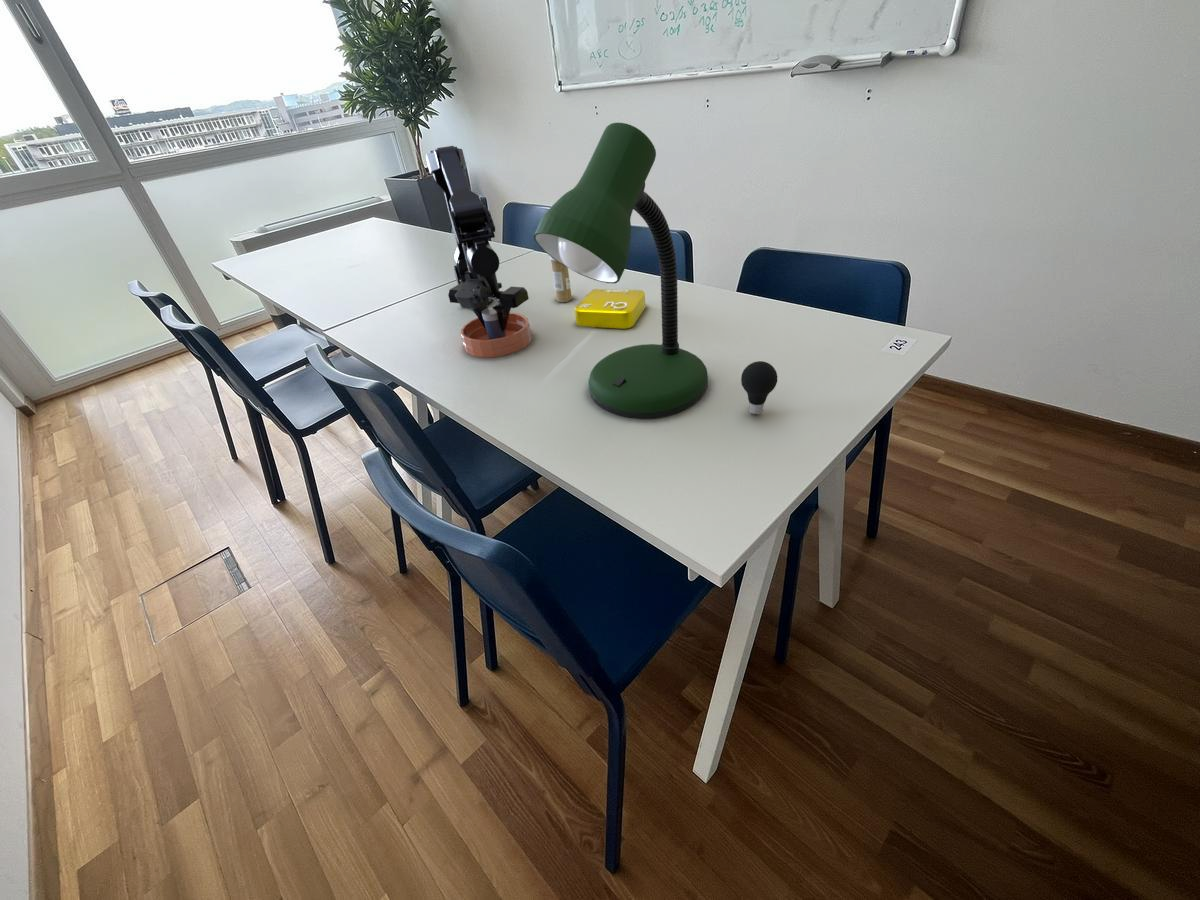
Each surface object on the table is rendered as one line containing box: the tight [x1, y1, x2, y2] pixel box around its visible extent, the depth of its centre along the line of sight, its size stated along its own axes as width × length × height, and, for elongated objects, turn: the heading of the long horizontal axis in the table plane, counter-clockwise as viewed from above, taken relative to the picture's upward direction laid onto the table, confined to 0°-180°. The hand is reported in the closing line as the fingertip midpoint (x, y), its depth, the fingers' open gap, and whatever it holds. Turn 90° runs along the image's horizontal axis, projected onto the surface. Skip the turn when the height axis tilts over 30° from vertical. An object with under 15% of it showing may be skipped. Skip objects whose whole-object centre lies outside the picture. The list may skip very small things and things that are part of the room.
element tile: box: [574, 288, 646, 330], centre depth 130 cm, size 15×15×5 cm
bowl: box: [460, 312, 533, 359], centre depth 124 cm, size 16×16×4 cm
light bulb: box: [740, 360, 778, 416], centre depth 88 cm, size 6×6×10 cm
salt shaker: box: [482, 306, 506, 340], centre depth 122 cm, size 5×5×8 cm
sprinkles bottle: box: [549, 255, 573, 303], centre depth 140 cm, size 5×5×13 cm
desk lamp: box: [533, 122, 709, 420], centre depth 86 cm, size 31×23×45 cm
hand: (495, 329), depth 123 cm, fingers closed on salt shaker, 4 cm apart
